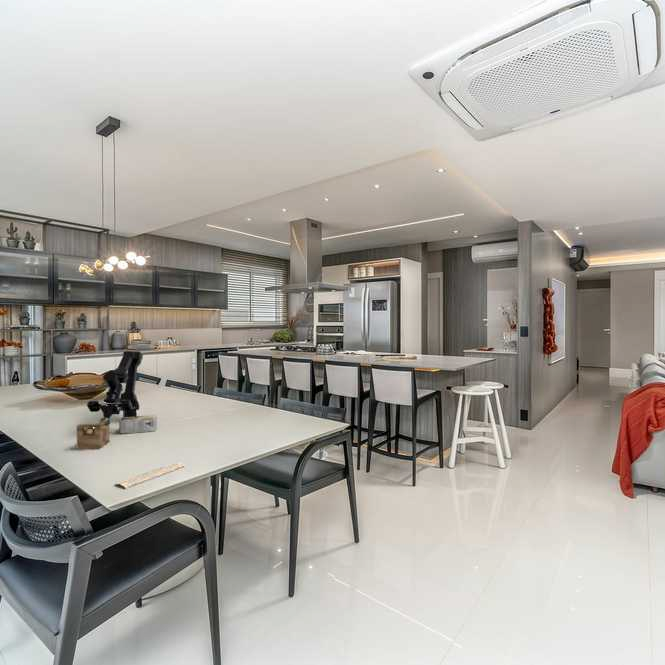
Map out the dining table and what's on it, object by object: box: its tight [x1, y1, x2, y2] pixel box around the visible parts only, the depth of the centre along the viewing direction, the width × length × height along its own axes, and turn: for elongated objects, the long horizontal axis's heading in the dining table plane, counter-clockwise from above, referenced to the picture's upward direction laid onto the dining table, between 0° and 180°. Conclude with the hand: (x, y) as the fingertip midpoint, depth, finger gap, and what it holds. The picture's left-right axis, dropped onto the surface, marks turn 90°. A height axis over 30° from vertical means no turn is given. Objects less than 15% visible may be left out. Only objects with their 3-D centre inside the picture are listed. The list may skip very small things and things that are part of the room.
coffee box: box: [118, 414, 158, 435], centre depth 202 cm, size 9×6×16 cm
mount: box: [76, 423, 110, 451], centre depth 177 cm, size 10×9×10 cm
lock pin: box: [85, 416, 111, 435], centre depth 180 cm, size 17×4×4 cm, turn 9°
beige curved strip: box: [114, 461, 186, 490], centre depth 142 cm, size 24×7×2 cm, turn 150°
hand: (105, 421), depth 189 cm, fingers closed, pressing on lock pin
